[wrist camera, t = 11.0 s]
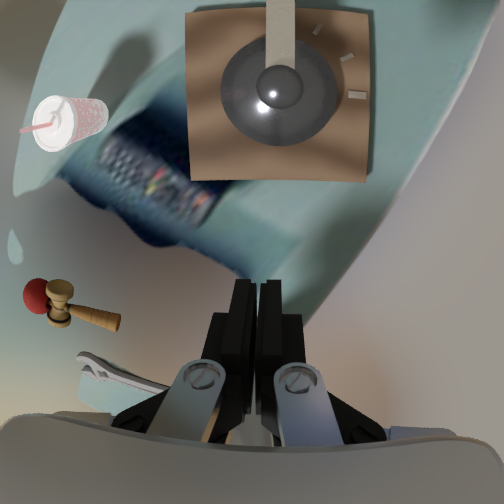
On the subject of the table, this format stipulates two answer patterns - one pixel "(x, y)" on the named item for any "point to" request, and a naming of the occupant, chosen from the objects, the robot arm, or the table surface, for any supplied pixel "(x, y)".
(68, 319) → the kendama
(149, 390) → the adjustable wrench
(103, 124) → the beverage cup
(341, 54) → the dial plate
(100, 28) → the table surface
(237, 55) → the dial
